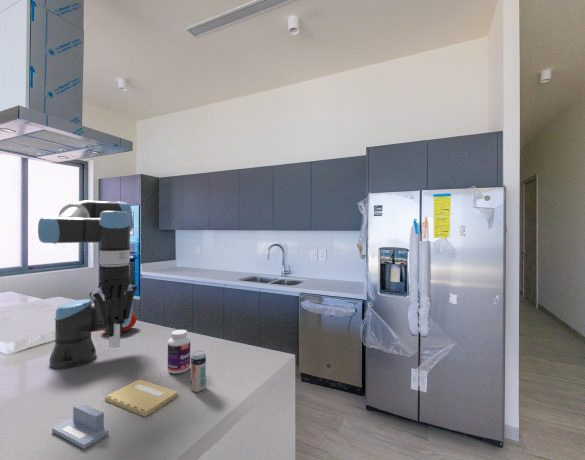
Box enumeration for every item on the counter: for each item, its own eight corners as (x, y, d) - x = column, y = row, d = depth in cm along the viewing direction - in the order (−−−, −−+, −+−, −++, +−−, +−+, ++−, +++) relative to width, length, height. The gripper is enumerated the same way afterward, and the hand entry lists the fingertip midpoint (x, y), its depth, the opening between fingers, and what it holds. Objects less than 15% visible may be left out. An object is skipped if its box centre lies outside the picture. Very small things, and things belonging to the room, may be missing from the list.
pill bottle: (182, 376, 108) (182, 336, 108) (162, 373, 110) (163, 334, 110) (194, 366, 116) (194, 329, 116) (175, 364, 118) (176, 327, 118)
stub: (52, 431, 78) (52, 412, 78) (76, 418, 84) (76, 400, 84) (84, 449, 72) (84, 428, 72) (108, 433, 78) (108, 414, 78)
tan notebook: (104, 400, 93) (105, 396, 93) (139, 382, 104) (139, 378, 104) (144, 416, 85) (144, 412, 85) (177, 395, 96) (177, 391, 96)
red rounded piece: (95, 332, 153) (96, 312, 153) (129, 324, 165) (129, 306, 165) (106, 338, 144) (106, 318, 143) (141, 330, 156) (141, 311, 156)
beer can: (192, 385, 102) (192, 350, 102) (206, 384, 103) (207, 350, 103) (188, 393, 97) (189, 356, 97) (203, 392, 98) (204, 356, 98)
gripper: (100, 268, 78) (99, 357, 79) (143, 263, 90) (143, 341, 90) (83, 266, 82) (82, 352, 82) (127, 261, 93) (126, 336, 94)
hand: (114, 346), depth 86 cm, fingers closed
